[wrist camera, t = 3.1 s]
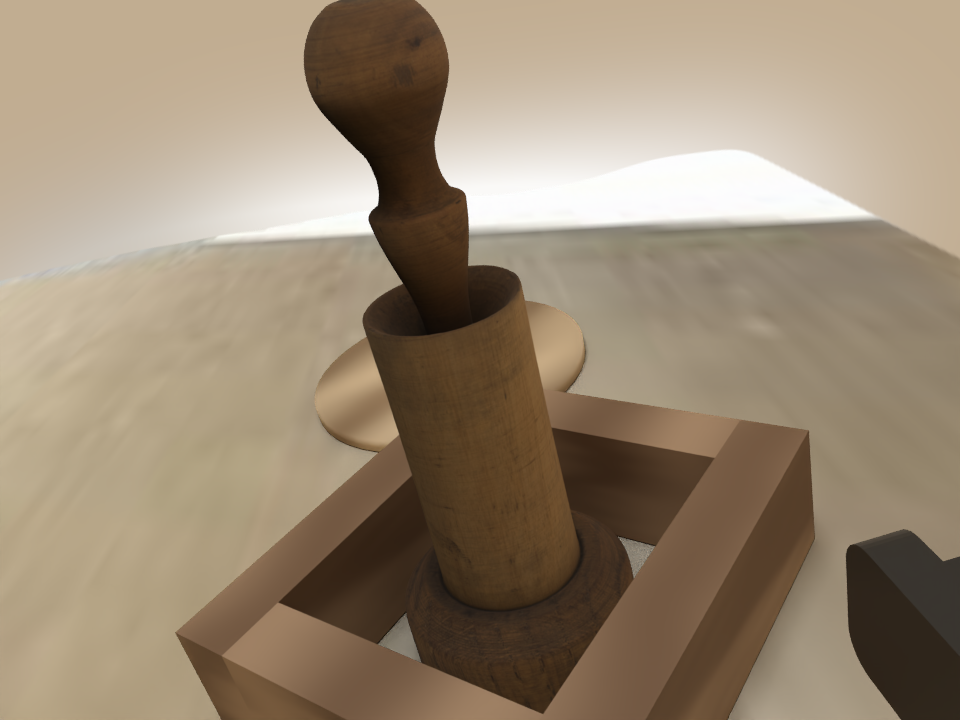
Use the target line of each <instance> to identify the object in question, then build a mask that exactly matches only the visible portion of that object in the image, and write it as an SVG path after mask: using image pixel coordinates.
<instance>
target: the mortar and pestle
mask: <svg viewBox="0 0 960 720" xmlns="http://www.w3.org/2000/svg"><path fill="white" fill-rule="evenodd" d="M304 70H305V76H306V81H307V84H308V88H309V91H310V93H311V95H312V98H313V100H314V102H315V103H316V105H317V106H318V108H319V109H320V111H321V112H322V113H323V114H324V116H325V117H326V118H327V119H328V120H329V121H330V122H331V123H332V124H333V125H334V126H335V127H336V129H337V130H338V131H339V132H340V133H341V134H342V135H343V136H344V137H345V138H346V139H347V140H348V141H349V142H350V143H351V144H352V145H353V146H354V147H355V148H356V149H357V150H358V151H359V152H360V153H361V154H362V155H363V156H364V157H365V158H366V159H367V161H368V163H369V164H370V166H371V168H372V170H373V172H374V175H375V178H376V180H377V184H378V190H379V202H378V206H377V207H376V208H375V209H373V210H372V211H371V213H370V215H369V223H370V225H371V228H372V230H373V232H374V234H375V236H376V238H377V240H378V242H379V244H380V246H381V248H382V250H383V252H384V253H385V255H386V257H387V258H388V260H389V262H390V263H391V265H392V266H393V268H394V270H395V271H396V273H397V275H398V276H399V278H400V279H401V281H402V282H403V284H402V285H400V286H397V287H395V288H393V289H392V290H390V291H388V292H386V293H385V294H383V295H382V296H380V297H379V298H377V299H376V300H375V301H374V302H373V303H372V304H371V305H370V306H369V307H368V308H367V310H366V312H365V313H364V315H363V326H364V329H365V332H366V336H367V339H368V342H369V345H370V348H371V351H372V354H373V357H374V360H375V363H376V366H377V369H378V372H379V375H380V377H381V381H382V384H383V387H384V390H385V392H386V396H387V398H388V401H389V405H390V408H391V411H392V414H393V417H394V420H395V423H396V426H397V430H398V433H399V436H400V439H401V442H402V445H403V448H404V451H405V455H406V458H407V461H408V464H409V467H410V470H411V473H412V477H413V480H414V483H415V486H416V489H417V493H418V496H419V499H420V503H421V506H422V509H423V512H424V516H425V519H426V522H427V526H428V529H429V532H430V535H431V539H432V542H433V546H432V547H431V548H430V549H429V550H428V551H427V552H426V553H425V554H424V556H423V557H422V558H421V559H420V561H419V562H418V564H417V565H416V567H415V569H414V570H413V572H412V574H411V577H410V579H409V582H408V585H407V589H406V597H405V606H406V613H407V618H408V622H409V626H410V629H411V632H412V635H413V638H414V641H415V644H416V647H417V650H418V653H419V656H420V659H421V662H422V663H423V664H425V665H427V666H430V667H432V668H435V669H437V670H439V671H442V672H444V673H446V674H449V675H451V676H453V677H456V678H458V679H461V680H463V681H465V682H468V683H470V684H472V685H475V686H477V687H480V688H482V689H484V690H487V691H489V692H491V693H494V694H496V695H499V696H501V697H503V698H506V699H508V700H510V701H513V702H515V703H517V704H520V705H522V706H525V707H527V708H529V709H532V710H534V711H536V712H539V713H541V714H544V712H545V711H546V709H547V708H548V706H549V705H550V703H551V702H552V700H553V699H554V697H555V696H556V694H557V693H558V691H559V690H560V688H561V687H562V685H563V684H564V682H565V681H566V679H567V678H568V676H569V675H570V673H571V672H572V670H573V669H574V667H575V666H576V664H577V663H578V662H579V660H580V659H581V657H582V656H583V654H584V653H585V651H586V650H587V648H588V647H589V645H590V644H591V642H592V641H593V639H594V638H595V636H596V635H597V633H598V632H599V630H600V629H601V627H602V626H603V624H604V623H605V621H606V620H607V618H608V617H609V615H610V614H611V612H612V611H613V609H614V608H615V606H616V605H617V603H618V602H619V600H620V599H621V597H622V596H623V594H624V593H625V591H626V590H627V588H628V587H629V585H630V584H631V582H632V581H633V579H634V578H633V573H632V568H631V564H630V560H629V557H628V554H627V552H626V550H625V548H624V546H623V544H622V542H621V541H620V539H619V538H618V537H617V536H616V535H615V534H614V532H613V531H612V530H610V529H609V528H608V527H607V526H606V525H604V524H603V523H601V522H600V521H598V520H596V519H594V518H592V517H590V516H588V515H586V514H583V513H581V512H578V511H574V510H571V509H570V507H569V502H568V498H567V494H566V489H565V485H564V481H563V476H562V472H561V468H560V464H559V459H558V455H557V451H556V446H555V442H554V437H553V433H552V428H551V424H550V419H549V415H548V410H547V406H546V400H545V396H544V391H543V386H542V382H541V377H540V373H539V368H538V363H537V358H536V354H535V349H534V344H533V339H532V334H531V329H530V324H529V319H528V314H527V309H526V304H525V299H524V295H523V290H522V285H521V281H520V279H519V277H518V276H517V275H516V274H515V273H513V272H511V271H509V270H507V269H504V268H501V267H497V266H488V265H477V266H468V249H469V225H468V210H467V201H466V195H465V193H464V192H463V191H462V190H460V189H458V188H454V187H451V186H449V185H448V183H447V182H446V180H445V179H444V177H443V176H442V174H441V172H440V169H439V167H438V163H437V160H436V154H435V145H434V141H435V135H436V131H437V126H438V122H439V118H440V114H441V110H442V106H443V101H444V97H445V92H446V88H447V83H448V74H449V60H448V53H447V49H446V45H445V42H444V39H443V36H442V34H441V32H440V30H439V28H438V26H437V24H436V23H435V21H434V19H433V18H432V17H431V15H430V14H429V13H428V12H427V11H426V10H425V9H424V8H423V7H422V6H421V5H420V4H419V3H418V2H417V1H415V0H339V1H337V2H334V3H332V4H330V5H328V6H326V7H325V8H324V9H323V10H322V11H321V13H320V14H319V15H318V16H317V17H316V19H315V20H314V21H313V23H312V25H311V27H310V30H309V32H308V35H307V39H306V43H305V50H304Z"/></svg>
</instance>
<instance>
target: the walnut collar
mask: <svg viewBox="0 0 960 720" xmlns="http://www.w3.org/2000/svg"><path fill="white" fill-rule="evenodd" d="M543 391H544V396H545V400H546V406H547V410H548V415H549V419H550V424H551V428H552V433H553V437H554V442H555V446H556V451H557V455H558V459H559V464H560V468H561V472H562V476H563V481H564V485H565V489H566V494H567V498H568V502H569V507H570V509H571V510H574V511H578V512H581V513H583V514H586V515H588V516H590V517H592V518H594V519H596V520H598V521H600V522H601V523H603V524H604V525H606V526H607V527H608V528H609V529H610V530H612V531H613V532H614V534H615V535H618V536H622V537H625V538H629V539H633V540H637V541H641V542H645V543H648V544H652V545H656V547H655V548H654V550H653V551H652V553H651V554H650V556H649V557H648V559H647V560H646V561H645V563H644V564H643V566H642V567H641V569H640V570H639V572H638V573H637V575H636V576H635V578H634V579H633V581H632V582H631V584H630V585H629V587H628V588H627V590H626V591H625V593H624V594H623V596H622V597H621V599H620V600H619V602H618V603H617V605H616V606H615V608H614V609H613V611H612V612H611V614H610V615H609V617H608V618H607V620H606V621H605V623H604V624H603V626H602V627H601V629H600V630H599V632H598V633H597V635H596V636H595V638H594V639H593V641H592V642H591V644H590V645H589V647H588V648H587V650H586V651H585V653H584V654H583V656H582V657H581V659H580V660H579V662H578V663H577V664H576V666H575V667H574V669H573V670H572V672H571V673H570V675H569V676H568V678H567V679H566V681H565V682H564V684H563V685H562V687H561V688H560V690H559V691H558V693H557V694H556V696H555V697H554V699H553V700H552V702H551V703H550V705H549V706H548V708H547V709H546V711H545V712H544V714H541V713H539V712H536V711H534V710H532V709H529V708H527V707H525V706H522V705H520V704H517V703H515V702H513V701H510V700H508V699H506V698H503V697H501V696H499V695H496V694H494V693H491V692H489V691H487V690H484V689H482V688H480V687H477V686H475V685H472V684H470V683H468V682H465V681H463V680H461V679H458V678H456V677H453V676H451V675H449V674H446V673H444V672H442V671H439V670H437V669H435V668H432V667H430V666H427V665H425V664H423V663H420V662H418V661H416V660H413V659H411V658H408V657H406V656H404V655H401V654H399V653H397V652H394V651H392V650H390V649H387V648H385V647H382V646H380V645H378V644H377V643H378V642H379V641H380V640H381V638H382V637H383V636H384V635H385V634H386V633H387V632H388V631H389V630H390V628H391V627H392V626H393V625H394V624H395V623H396V622H397V621H398V620H399V618H400V617H401V616H402V615H403V614H404V613H405V612H406V606H405V597H406V589H407V585H408V582H409V579H410V577H411V574H412V572H413V570H414V569H415V567H416V565H417V564H418V562H419V561H420V559H421V558H422V557H423V556H424V554H425V553H426V552H427V551H428V550H429V549H430V548H431V547H432V546H433V542H432V539H431V535H430V532H429V529H428V526H427V522H426V519H425V516H424V512H423V509H422V506H421V503H420V499H419V496H418V493H417V489H416V486H415V483H414V480H413V477H412V473H411V470H410V467H409V464H408V461H407V458H406V455H405V451H404V448H403V445H402V442H401V439H400V436H399V435H398V436H397V437H396V438H395V439H394V440H393V441H391V442H390V443H389V444H388V445H387V446H386V447H385V448H383V449H382V450H381V451H380V452H379V453H378V454H377V455H376V456H374V457H373V458H372V459H371V460H370V461H369V462H368V463H367V464H365V465H364V466H363V467H362V468H361V469H360V470H359V471H357V472H356V473H355V474H354V475H353V476H352V477H351V478H350V479H348V480H347V481H346V482H345V483H344V484H343V485H342V486H341V487H339V488H338V489H337V490H336V491H335V492H334V493H333V494H331V495H330V496H329V497H328V498H327V499H326V500H325V501H324V502H322V503H321V504H320V505H319V506H318V507H317V508H316V509H314V510H313V511H312V512H311V513H310V514H309V515H308V516H307V517H305V518H304V519H303V520H302V521H301V522H300V523H299V524H298V525H296V526H295V527H294V528H293V529H292V530H291V531H290V532H288V533H287V534H286V535H285V536H284V537H283V538H282V539H281V540H279V541H278V542H277V543H276V544H275V545H274V546H273V547H272V548H270V549H269V550H268V551H267V552H266V553H265V554H264V555H262V556H261V557H260V558H259V559H258V560H257V561H256V562H255V563H253V564H252V565H251V566H250V567H249V568H248V569H247V570H246V571H244V572H243V573H242V574H241V575H240V576H239V577H238V578H236V579H235V580H234V581H233V582H232V583H231V584H230V585H229V586H227V587H226V588H225V589H224V590H223V591H222V592H221V593H220V594H218V595H217V596H216V597H215V598H214V599H213V600H212V601H210V602H209V603H208V604H207V605H206V606H205V607H204V608H203V609H201V610H200V611H199V612H198V613H197V614H196V615H195V616H194V617H192V618H191V619H190V620H189V621H188V622H187V623H186V624H184V625H183V626H182V627H181V628H180V629H179V630H178V631H177V632H175V633H176V635H177V637H178V638H179V640H180V642H181V644H182V646H183V648H184V650H185V652H186V654H187V655H188V657H189V659H190V661H191V663H192V665H193V667H194V669H195V670H196V672H197V674H198V676H199V678H200V680H201V682H202V684H203V686H204V687H205V689H206V691H207V693H208V695H209V697H210V699H211V701H212V702H213V704H214V706H215V708H216V710H217V712H218V714H219V716H220V718H221V719H222V720H727V719H728V716H729V714H730V712H731V710H732V708H733V706H734V704H735V702H736V700H737V698H738V696H739V694H740V692H741V690H742V687H743V685H744V683H745V681H746V679H747V677H748V675H749V673H750V671H751V669H752V667H753V665H754V663H755V661H756V659H757V656H758V654H759V652H760V650H761V648H762V646H763V644H764V642H765V640H766V638H767V636H768V634H769V632H770V630H771V627H772V625H773V623H774V621H775V619H776V617H777V615H778V613H779V611H780V609H781V607H782V605H783V603H784V601H785V599H786V596H787V594H788V592H789V590H790V588H791V586H792V584H793V582H794V580H795V578H796V576H797V574H798V572H799V570H800V567H801V565H802V563H803V561H804V559H805V557H806V555H807V553H808V551H809V549H810V547H811V545H812V543H813V541H814V539H815V533H814V515H813V497H812V479H811V461H810V443H809V430H803V429H796V428H790V427H783V426H777V425H771V424H764V423H758V422H751V421H745V420H739V419H732V418H726V417H719V416H713V415H706V414H700V413H694V412H687V411H681V410H674V409H668V408H662V407H655V406H649V405H642V404H636V403H630V402H623V401H617V400H610V399H604V398H597V397H591V396H585V395H578V394H572V393H565V392H559V391H553V390H546V389H543Z"/></svg>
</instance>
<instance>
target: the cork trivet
mask: <svg viewBox="0 0 960 720" xmlns="http://www.w3.org/2000/svg"><path fill="white" fill-rule="evenodd" d="M525 304H526V309H527V314H528V319H529V324H530V329H531V334H532V339H533V344H534V349H535V354H536V358H537V363H538V368H539V373H540V377H541V382H542V386H543V389H546V390H553V391H559V392H565V391H567V389H568V388H569V387H570V386H571V385H572V383H573V382H574V381H575V380H576V378H577V376H578V375H579V373H580V371H581V369H582V366H583V363H584V360H585V347H584V341H583V336H582V332H581V330H580V328H579V326H578V324H577V323H576V322H575V321H574V320H573V318H571V317H570V316H569V315H567V314H566V313H564V312H562V311H560V310H558V309H556V308H554V307H551V306H548V305H545V304H541V303H536V302H530V301H525ZM315 406H316V409H317V412H318V415H319V418H320V420H321V422H322V424H323V426H324V428H325V429H326V430H327V431H328V432H329V433H330V434H331V435H332V436H334V437H335V438H336V439H338V440H340V441H342V442H344V443H346V444H348V445H351V446H354V447H357V448H360V449H365V450H371V451H376V452H380V451H381V450H382V449H383V448H385V447H386V446H387V445H388V444H389V443H390V442H391V441H393V440H394V439H395V438H396V437H397V436H398V435H399V433H398V430H397V426H396V423H395V420H394V417H393V414H392V411H391V408H390V405H389V401H388V398H387V396H386V392H385V390H384V387H383V384H382V381H381V377H380V375H379V372H378V369H377V366H376V363H375V360H374V357H373V354H372V351H371V348H370V345H369V342H368V339H367V337H366V338H364V339H362V340H361V341H359V342H358V343H356V344H355V345H354V346H352V347H351V348H349V349H348V350H347V351H346V352H344V353H343V354H342V355H341V356H339V357H338V358H337V359H336V360H335V361H334V362H333V363H332V364H331V365H330V367H329V368H328V369H327V370H326V372H325V373H324V374H323V376H322V378H321V379H320V381H319V383H318V386H317V389H316V392H315Z"/></svg>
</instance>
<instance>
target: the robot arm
mask: <svg viewBox="0 0 960 720" xmlns="http://www.w3.org/2000/svg"><path fill="white" fill-rule="evenodd" d="M846 568H847V597H848V625H849V633H850V637H851V641H852V644H853V647H854V650H855V652H856V655H857V657H858V659H859V661H860V663H861V665H862V667H863V668H864V670H865V672H866V673H867V675H868V676H869V677H870V679H871V680H872V681H873V683H874V684H875V685H876V687H877V688H878V689H879V691H880V692H881V693H882V695H883V696H884V697H885V699H886V700H887V701H888V703H889V704H890V705H891V707H892V708H893V709H894V711H895V712H896V713H897V715H898V716H899V717H900V719H901V720H960V557H957V558H953V559H950V560H947V561H942V560H941V559H940V558H939V557H938V556H937V555H936V554H935V553H934V552H933V551H932V550H931V549H930V548H929V547H928V546H927V545H926V544H925V543H924V542H923V541H922V540H921V539H920V538H919V537H918V536H916V535H915V534H914V533H912V532H911V531H909V530H904V529H903V530H900V531H896V532H893V533H890V534H886V535H883V536H880V537H876V538H873V539H870V540H866V541H863V542H860V543H856V544H853V545H850V546H849V547H848V549H847V553H846Z"/></svg>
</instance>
